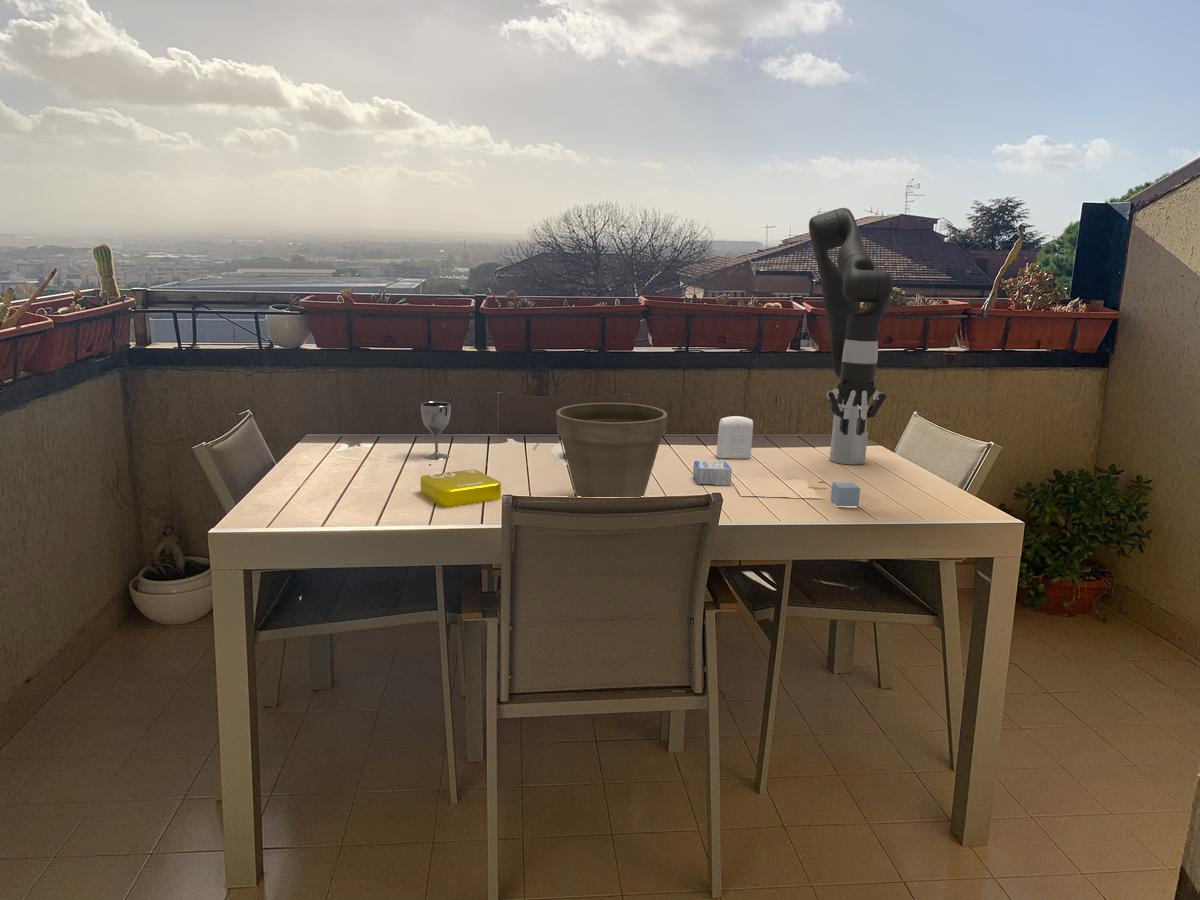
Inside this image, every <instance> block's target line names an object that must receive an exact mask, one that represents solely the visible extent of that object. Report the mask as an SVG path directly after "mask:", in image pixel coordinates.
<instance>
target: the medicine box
mask: <svg viewBox="0 0 1200 900" xmlns="http://www.w3.org/2000/svg"><path fill="white" fill-rule="evenodd" d="M732 470H733V469H732V467H731V466H730V465H729V463H728V462H727V461H714V460H713V461H712V460H711V461H710V460H709V461H708V460H695V461H694V462H693V470H692V472H693V474H692V475H693V478H694V480H695V482H696V483H697V485H700V484H715V485H714V486H730V485H731V483H732V482H731V477H732ZM716 484H718V485H716Z"/></svg>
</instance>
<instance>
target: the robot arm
mask: <svg viewBox="0 0 1200 900" xmlns="http://www.w3.org/2000/svg"><path fill="white" fill-rule="evenodd" d="M808 230H809V231H808V232H809V237H810V242H811V245H812V249H813V253H814V257H815V261H816V264H817V269H818V273H819V275H818V276H819V280H820V285H821V294H822V299H823V305H824V311H825V314H826V320H827V325H828V330H829V337H830V346H831V347H830V348H831V359H832V360H831V361H832V367H833V371H834V374H835V376H836V377H838V378H839V383H838V385H837V387H836V388H834V389H832V390H826V392H825V395H826V398H827V400H828V401H827V402H828V403H829V405H830V409H831V411H832V414H833V422H832V430H831V431H832V432H831V433H832V434H831V441H830V442H831V443H830V451H829V461H831V462H832V463H837V464H841V465H853V466H854V465H861V464H862V465H864V464H866V463H865V462H866V454H867V445H868V437H869V432H868V430H867V424H868V423H867V422H868V419H869V418H870V419H871V418H874V417H875V416H876V415H877V413H878V411H879V409H880V408H881V406H882V405H883V403H884V402H885V400H886V398H887V395H886V394H885V393H883V392H881V391H878V390H877V387H876V385H875V381H876V373H877V364H878V359H879V357H878V354H879V335H880V327H881V322H882V318H883V316H884V312H885V309H886V307H887V304H888V302H889V300H890V297H891V295H892V292H893V288H894V282H893V281H894V279H893V278H892V275H891V274H890V272H888V271H886V270H875V265H874V263H873V260H872V258H870V257H871V256H869V254H868V253H867V251H866V249H865V246H864V244H863V239H862V235H861V232H860V230H859V227H858V224H857V221H856V219H855V217H854V214H853V213H852V211H851V210H850V209H849V208H847V207H840V208H836V209H833V210H830V211H826V212H823V213H819V214H817V215H814V216H812V217H811V218H810V219H809V222H808ZM839 247H840V248H839ZM837 248H839V250H838V253H837V256H836V263H837V264H835V262H834V261H833V259H831V257H830V255H829V253H828V252H829V251H830V250H833V249H837ZM861 303H870V305H869V306H868V308H867V309H866V310H864V311H861V309H862V307H861V306H862V305H861ZM871 397H872V399H873V401H872V402H871V404H870V399H871ZM869 404H870V405H869Z"/></svg>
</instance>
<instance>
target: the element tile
mask: <svg viewBox="0 0 1200 900" xmlns="http://www.w3.org/2000/svg"><path fill="white" fill-rule="evenodd" d="M420 494H421V495H422V496H424V497H425V498H427V499H428V500H430V501H432V502H433V503H435V504H436V505H437V504H438V506H439V507H441V506H442V508H455V507H454V506H457V507H460V506H459V505H463V506H467V505H466V504H470V505H474V504H473V503H476V504H480V503H479V502H483V503H485V502H484V501H489V502H491V501H490V500H496V501H499V500H501V499H502V482H500V481H499V480H498V479H495V478H493V477H491V476H489V475H488V474H486V473H484V472H481V471H479V470H477V469H472V468H471V469H464V470H456V471H449V472H441V473H440V472H439V473H435V472H434V473H430V474H425V475H421V476H420ZM498 499H499V500H498Z"/></svg>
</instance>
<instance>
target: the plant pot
mask: <svg viewBox="0 0 1200 900" xmlns="http://www.w3.org/2000/svg"><path fill="white" fill-rule="evenodd" d="M555 417H556V419H555V420H556V432H557V434H558V435H559V436H560V437H561V441H562V445H563V449H564V452H565V453H564V454H565V457H566V460H567V461H566V462H567V463H568V464H567V465H568V469H569V473H570V477H571V480H572V484H573V488H574V491H575V495H576V497H577V496H581V497H641V496H644V497H645V493H646V490H647V487H648V483H649V480H650V477H651V474H652V471H653V467H654V464H655V460H656V458H657V454H658V450H659V447H660V444H661V439H662V438H663V437H664V436H665V435H666V431H667V422H668V413H667V411H665V410H664V409H661V408H658V407H654V406H653V405H652V406H651V405H645V404H637V403H625V402H589V403H577V404H573V405H567V406H563V407H561V408H559V409H557V410H556V412H555Z"/></svg>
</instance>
